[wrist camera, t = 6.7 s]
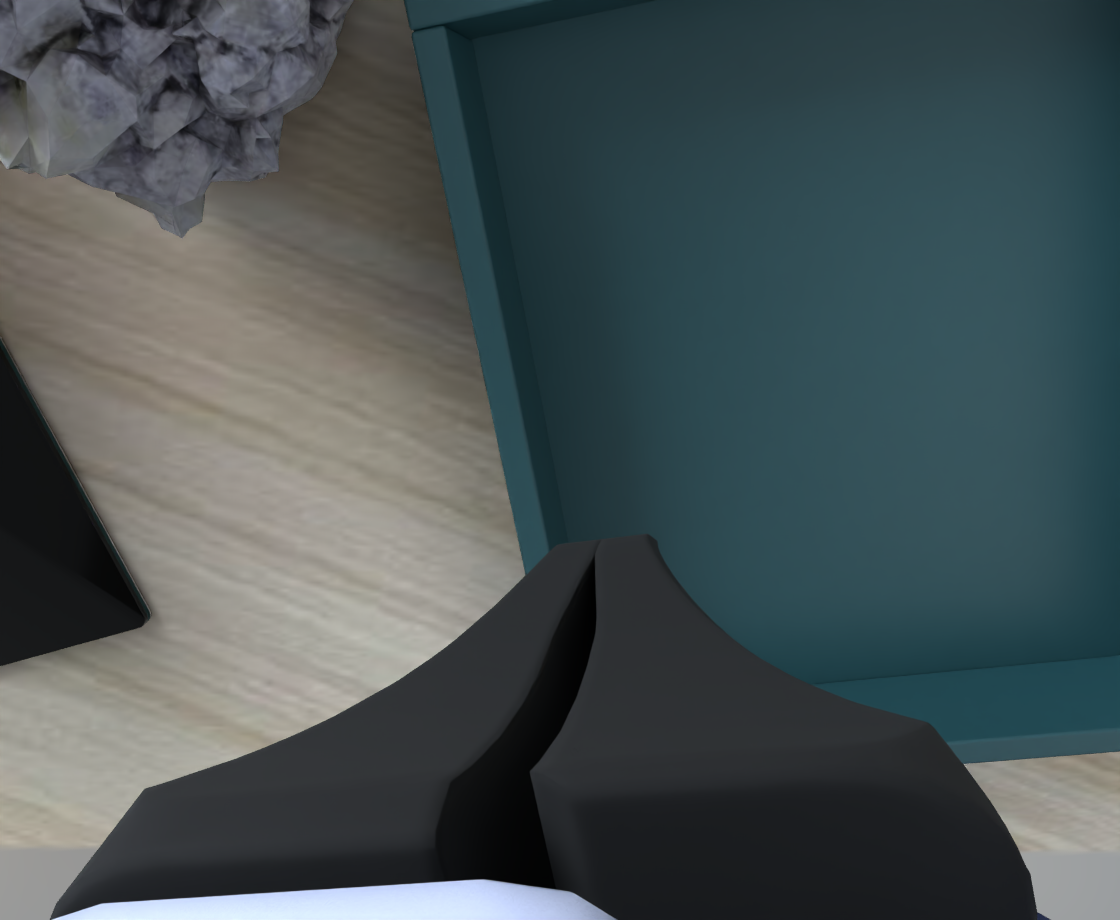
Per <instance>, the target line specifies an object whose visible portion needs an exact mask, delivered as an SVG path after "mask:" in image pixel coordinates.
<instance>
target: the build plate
mask: <svg viewBox="0 0 1120 920" xmlns="http://www.w3.org/2000/svg"><path fill="white" fill-rule="evenodd" d="M150 618H151V611H150V609H149V607H148V605H147V603H146V602H145V600H144V598H143V596H142V594H141V592H140V591H139V589H138V587H137V585H136V583H135V581H134V580H133V578H132V576H131V574H130V572H129V570H128V569H127V567H126V565H125V563H124V561H123V560H122V558H121V556H120V554H119V552H118V550H117V549H116V547H115V545H114V543H113V541H112V539H111V538H110V536H109V534H108V532H107V530H106V528H105V527H104V525H103V523H102V521H101V519H100V517H99V516H98V514H97V512H96V510H95V508H94V506H93V505H92V503H91V501H90V499H89V497H88V495H87V494H86V492H85V490H84V488H83V486H82V484H81V483H80V481H79V479H78V477H77V475H76V473H75V472H74V470H73V468H72V466H71V464H70V462H69V461H68V459H67V457H66V455H65V453H64V451H63V450H62V448H61V446H60V444H59V442H58V440H57V439H56V437H55V435H54V433H53V431H52V429H51V428H50V426H49V424H48V422H47V420H46V418H45V417H44V415H43V413H42V411H41V409H40V407H39V406H38V404H37V402H36V400H35V398H34V396H33V395H32V393H31V391H30V389H29V387H28V385H27V384H26V382H25V380H24V378H23V376H22V375H21V373H20V371H19V369H18V367H17V365H16V364H15V362H14V360H13V358H12V356H11V354H10V353H9V351H8V349H7V347H6V345H5V343H4V342H3V340H2V338H1V336H0V666H2V665H6V664H10V663H13V662H17V661H21V660H24V659H28V658H31V657H35V656H39V655H42V654H46V653H50V652H53V651H57V650H60V649H64V648H68V647H71V646H75V645H79V644H82V643H86V642H89V641H93V640H97V639H100V638H104V637H108V636H111V635H115V634H118V633H122V632H126V631H129V630H133V629H137V628H140V627H142V626H143V625H144V624H145V623H146V622H147V621H148V620H149V619H150Z"/></svg>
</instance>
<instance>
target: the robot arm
mask: <svg viewBox="0 0 1120 920" xmlns="http://www.w3.org/2000/svg"><path fill="white" fill-rule="evenodd" d="M50 920H1037V909H1036V904H1035V898H1034V892H1033V887H1032V881H1031V875H1030V873H1029V871H1028V869H1027V868H1026V865H1025V863H1024V861H1023V859H1022V857H1021V854H1020V852H1019V850H1018V847H1017V845H1016V844H1015V842H1014V840H1013V838H1012V836H1011V834H1010V833H1009V831H1008V829H1007V827H1006V825H1005V824H1004V822H1003V820H1002V819H1001V817H1000V816H999V814H998V813H997V811H996V810H995V808H994V806H993V805H992V803H991V802H990V800H989V799H988V797H987V796H986V795H985V793H984V792H983V790H982V789H981V788H980V786H979V785H978V784H977V782H976V781H975V780H974V778H973V777H972V775H971V774H970V773H969V771H968V770H967V769H966V767H965V766H964V765H963V764H962V762H961V761H960V760H959V758H958V757H957V756H956V755H955V753H954V752H953V751H952V749H951V748H950V747H949V746H948V744H947V743H946V742H945V740H944V739H943V738H942V737H941V736H940V734H939V733H938V732H937V731H936V729H935V728H934V727H933V726H932V725H931V724H929V723H928V722H925V721H921V720H917V719H914V718H910V717H906V716H903V715H899V714H896V713H892V712H888V711H885V710H881V709H877V708H874V707H870V706H866V705H863V704H859V703H856V702H853V701H850V700H848V699H845V698H843V697H840V696H838V695H835V694H832V693H830V692H827V691H825V690H822V689H820V688H817V687H815V686H813V685H810V684H808V683H806V682H804V681H802V680H800V679H798V678H795V677H793V676H791V675H789V674H787V673H786V672H784V671H782V670H780V669H779V668H777V667H775V666H773V665H772V664H770V663H768V662H766V661H764V660H763V659H761V658H759V657H758V656H756V655H755V654H753V653H751V652H750V651H748V650H747V649H746V648H745V647H743V646H742V645H741V644H739V643H738V642H737V641H735V640H734V639H733V638H732V637H731V636H729V635H728V634H727V633H726V632H725V631H724V630H723V629H721V628H720V627H719V626H718V625H717V624H716V623H715V622H714V621H713V620H712V619H711V618H710V617H709V616H708V615H707V614H706V613H705V612H704V611H703V610H702V609H701V608H700V607H699V606H698V605H697V603H696V602H695V601H694V600H693V599H692V598H691V597H690V596H689V594H688V593H687V592H686V590H685V589H684V588H683V587H682V585H681V584H680V583H679V582H678V580H677V579H676V578H675V576H674V575H673V574H672V572H671V571H670V569H669V567H668V566H667V564H666V563H665V561H664V559H663V557H662V555H661V553H660V551H659V548H658V542H657V540H656V539H654V538H653V537H652V536H650V535H649V534H640V535H632V536H624V537H615V538H607V539H598V540H590V541H582V542H573V543H565V544H558V545H557V546H555V547H554V548H553V549H552V550H551V551H550V552H548V553H547V554H546V555H545V556H544V557H543V558H542V559H541V560H540V561H539V562H538V563H537V565H536V566H535V567H534V568H533V569H532V570H531V571H530V572H529V573H528V574H527V575H526V576H525V577H524V578H523V579H522V580H521V581H520V582H519V583H518V584H517V585H516V586H515V587H514V588H513V589H512V590H511V591H510V592H509V593H507V594H506V595H505V596H504V597H503V598H502V599H501V600H500V601H499V602H498V603H497V604H496V605H495V606H494V607H493V608H492V609H490V610H489V611H488V612H487V613H486V614H485V615H484V616H482V617H481V618H480V619H479V620H478V621H477V622H475V623H474V624H473V625H472V626H471V627H470V628H469V629H467V630H466V631H465V632H464V633H463V634H462V635H461V636H459V637H458V638H457V639H456V640H455V641H453V642H452V643H451V644H449V645H448V646H447V647H446V648H444V649H443V650H442V651H440V652H439V653H438V654H436V655H435V656H434V657H432V658H431V659H429V660H428V661H426V662H425V663H423V664H422V665H420V666H419V667H418V668H416V669H415V670H413V671H412V672H410V673H409V674H407V675H406V676H404V677H403V678H401V679H400V680H398V681H396V682H395V683H393V684H392V685H390V686H388V687H386V688H384V689H383V690H381V691H379V692H377V693H375V694H374V695H372V696H370V697H368V698H366V699H365V700H363V701H361V702H359V703H357V704H356V705H354V706H352V707H350V708H348V709H347V710H345V711H343V712H341V713H339V714H338V715H336V716H334V717H332V718H330V719H328V720H326V721H323V722H321V723H319V724H317V725H315V726H313V727H311V728H309V729H306V730H304V731H302V732H300V733H298V734H296V735H293V736H291V737H288V738H286V739H284V740H281V741H279V742H277V743H274V744H272V745H270V746H267V747H265V748H262V749H260V750H257V751H255V752H252V753H250V754H247V755H244V756H242V757H239V758H237V759H234V760H231V761H228V762H225V763H222V764H219V765H216V766H213V767H210V768H207V769H204V770H201V771H198V772H195V773H192V774H189V775H187V776H184V777H181V778H178V779H175V780H172V781H169V782H166V783H163V784H159V785H156V786H153V787H149V788H146V789H144V790H143V792H142V793H141V794H140V795H139V797H138V798H137V799H136V801H135V802H134V803H133V805H132V806H131V807H130V808H129V810H128V811H127V812H126V814H125V815H124V816H123V818H122V819H121V820H120V821H119V823H118V824H117V825H116V827H115V828H114V829H113V831H112V832H111V833H110V834H109V836H108V837H107V838H106V840H105V841H104V842H103V844H102V845H101V846H100V847H99V849H98V850H97V851H96V853H95V854H94V855H93V857H92V858H91V859H90V861H89V862H88V863H87V864H86V866H85V867H84V868H83V870H82V871H81V872H80V873H79V875H78V876H77V878H76V879H75V880H74V881H73V883H72V884H71V885H70V887H69V888H68V889H67V890H66V892H65V893H64V894H63V896H62V897H61V898H60V899H59V901H58V902H57V904H56V906H55V908H54V911H53V913H52V915H51V918H50Z"/></svg>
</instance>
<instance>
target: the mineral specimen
mask: <svg viewBox="0 0 1120 920" xmlns="http://www.w3.org/2000/svg"><path fill="white" fill-rule="evenodd" d="M353 1H354V0H0V159H1V161H2V162H3V164H4V165H5V167H6V168H7V169H20V170H22V171H25V172H27V173H29V174H30V173H34V172H37V173H38V174H40V175H41V176H43V177H44V178H45V179H47V178H52V177H56V176H61V175H66V174H68V175H70V176H72V177H74V178H76V179H78V180H80V181H82V182H84V183H86V184H88V185H90V186H92V187H96V188H100V189H104V190H108V191H113V192H115V194H116V196H117V197H119V198H121V199H123V200H125V201H128V202H130V203H132V204H134V205H136V206H139V207H141V208H143V209H145V210H147V211H149V212H152V213H153V214H154V216H155V217H156V219H157V221H158V223H159V225H160V226H161V228H162V229H164V230H166V231H169V232H171V233H173V234H175V235H177V236H179V237H181V238H183V237H184V235H185V234H186V233H187V231H188V230H189V229H190V228H192V227H194V226H195V225H197V224H199V223H201V222H202V217H203V208H204V200H205V196H204V193H205V191H206V189H207V187H208V186H209V184H210V182H218V181H253V180H257V179H262V178H265V177H266V175H267V173H268V172H279V158H278V150H279V143H280V136H281V129H282V125H283V115H285V114H286V113H288V112H290V111H292V110H293V109H295V108H297V107H299V106H300V105H302V104H304V103H306V102H308V101H309V100H311V99H312V98H313V97H314V96H315V95H316V93H317V92H318V91H319V90H320V89H321V87H322V86H323V84H324V81H325V79H326V77H327V75H328V72H329V70H330V68H331V66H332V64H333V62H334V59H335V57H336V55H337V47H336V40H337V38H338V36H339V34H340V32H341V29H342V26H343V22H344V19H345V15H346V12H347V10H348V9H349V7H350V6H351V4H352V2H353ZM17 165H18V166H17Z"/></svg>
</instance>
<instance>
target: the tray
mask: <svg viewBox="0 0 1120 920" xmlns="http://www.w3.org/2000/svg"><path fill="white" fill-rule="evenodd" d="M404 4H405V8H406V13H407V18H408V22H409V27H410V29H411V30H412V31H414V32H413V33H412V41H413V46H414V51H415V55H416V60H417V65H418V70H419V74H420V79H421V84H422V88H423V93H424V98H425V103H426V107H427V112H428V117H429V121H430V126H431V131H432V136H433V140H434V145H435V150H436V155H437V159H438V164H439V169H440V173H441V178H442V183H443V188H444V192H445V197H446V202H447V206H448V211H449V216H450V221H451V225H452V230H453V235H454V239H455V244H456V249H457V254H458V258H459V263H460V268H461V272H462V277H463V282H464V287H465V291H466V296H467V301H468V306H469V310H470V315H471V320H472V324H473V329H474V334H475V339H476V343H477V348H478V353H479V357H480V362H481V367H482V372H483V376H484V381H485V386H486V390H487V395H488V400H489V405H490V409H491V414H492V419H493V424H494V428H495V433H496V438H497V442H498V447H499V452H500V457H501V461H502V466H503V471H504V475H505V480H506V485H507V490H508V494H509V499H510V504H511V508H512V513H513V518H514V523H515V527H516V532H517V537H518V541H519V546H520V551H521V556H522V560H523V565H524V570H525V575H527V574H528V573H529V572H530V571H531V570H532V569H533V568H534V567H535V566H536V565H537V563H538V562H539V561H540V560H541V559H542V558H543V557H544V556H545V555H546V554H547V553H548V552H550V551H551V550H552V549H553V548H554V547H555V546H557V545H558V544H565V543H573V542H582V541H590V540H598V539H607V538H615V537H624V536H632V535H640V534H649V535H650V536H652V537H653V538H654V539H656V540H657V542H658V548H659V551H660V553H661V555H662V557H663V559H664V561H665V563H666V564H667V566H668V567H669V569H670V571H671V572H672V574H673V575H674V576H675V578H676V579H677V580H678V582H679V583H680V584H681V585H682V587H683V588H684V589H685V590H686V592H687V593H688V594H689V596H690V597H691V598H692V599H693V600H694V601H695V602H696V603H697V605H698V606H699V607H700V608H701V609H702V610H703V611H704V612H705V613H706V614H707V615H708V616H709V617H710V618H711V619H712V620H713V621H714V622H715V623H716V624H717V625H718V626H719V627H720V628H721V629H723V630H724V631H725V632H726V633H727V634H728V635H729V636H731V637H732V638H733V639H734V640H735V641H737V642H738V643H739V644H741V645H742V646H743V647H745V648H746V649H747V650H748V651H750V652H751V653H753V654H755V655H756V656H758V657H759V658H761V659H763V660H764V661H766V662H768V663H770V664H772V665H773V666H775V667H777V668H779V669H780V670H782V671H784V672H786V673H787V674H789V675H791V676H793V677H795V678H798V679H800V680H802V681H804V682H806V683H808V684H810V685H813V686H815V687H817V688H820V689H822V690H825V691H827V692H830V693H832V694H835V695H838V696H840V697H843V698H845V699H848V700H850V701H853V702H856V703H859V704H863V705H866V706H870V707H874V708H877V709H881V710H885V711H888V712H892V713H896V714H899V715H903V716H906V717H910V718H914V719H917V720H921V721H925V722H928V723H929V724H931V725H932V726H933V727H934V728H935V729H936V731H937V732H938V733H939V734H940V736H941V737H942V738H943V739H944V740H945V742H946V743H947V744H948V746H949V747H950V748H951V749H952V751H953V752H954V753H955V755H956V756H957V757H958V758H959V760H960V761H961V762H962V764H969V763H981V762H994V761H1006V760H1019V759H1032V758H1044V757H1057V756H1069V755H1082V754H1094V753H1107V752H1119V751H1120V0H404Z"/></svg>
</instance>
